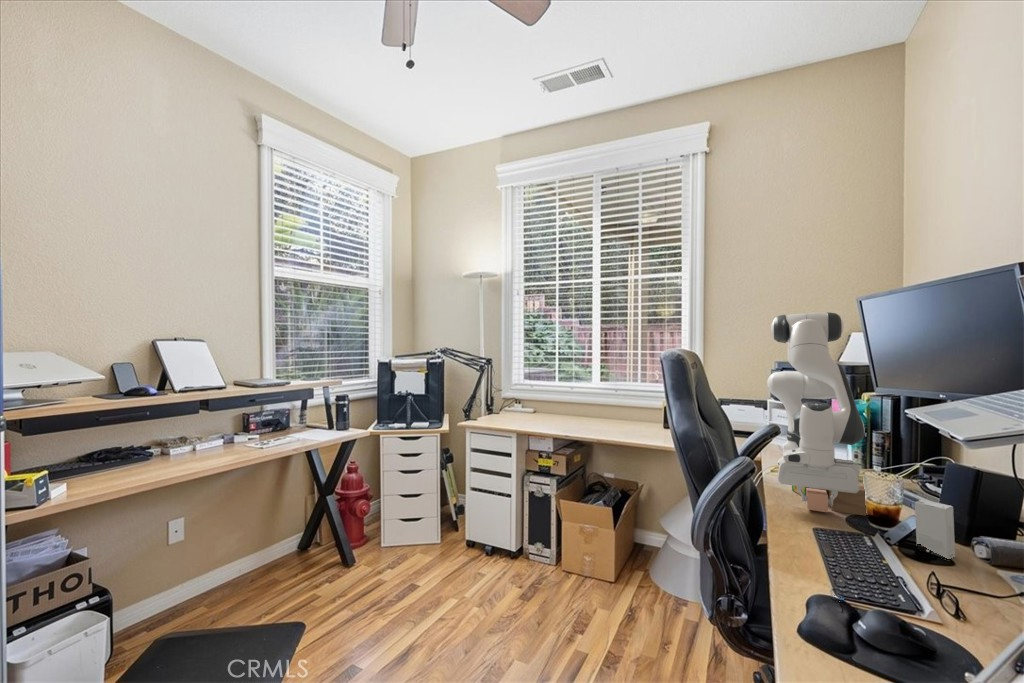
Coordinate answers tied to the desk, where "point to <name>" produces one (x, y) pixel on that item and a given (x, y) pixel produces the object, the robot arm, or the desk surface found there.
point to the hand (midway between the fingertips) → (816, 502)
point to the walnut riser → (850, 502)
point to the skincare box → (935, 527)
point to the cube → (817, 500)
